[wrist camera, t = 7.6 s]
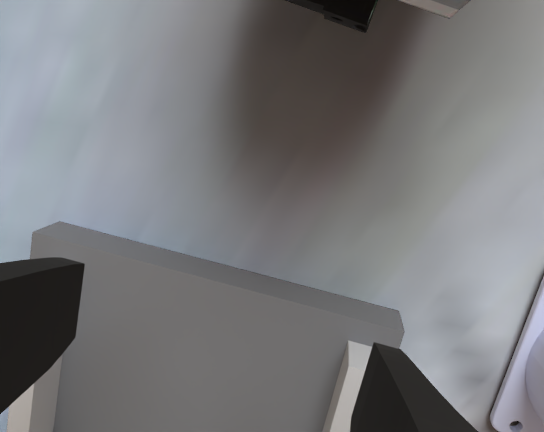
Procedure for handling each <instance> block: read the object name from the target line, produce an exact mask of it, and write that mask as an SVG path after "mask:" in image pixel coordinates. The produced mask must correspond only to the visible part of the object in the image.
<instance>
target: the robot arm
mask: <svg viewBox="0 0 544 432" xmlns="http://www.w3.org/2000/svg"><path fill="white" fill-rule="evenodd" d="M84 267H85V264H84V263H81V262H77V261H73V260H70V259H66V258H62V257H49V258H37V259H28V260H21V261H13V262H6V263H0V414H1V413H2V412H3V411H4V410H5V409H6V408H7V407H9V406H10V405H11V404H12V403H13V402H14V401H15V400H16V399H17V398H19V397H20V396H21V395H22V394H23V393H24V392H25V391H26V390H27V389H29V388H30V387H31V386H32V385H33V384H34V383H35V382H36V381H37V380H38V379H39V378H40V377H42V376H43V375H44V374H45V373H46V372H47V371H48V370H49V369H50V368H51V367H52V366H53V364H54V363H55V362H56V361H57V360H58V359H59V358H60V356H61V355H62V354H63V353H64V351H65V350H66V349H67V348H68V346H69V345H70V344H71V343H72V341H73V340H74V339H75V337H76V329H77V322H78V314H79V306H80V298H81V291H82V283H83V275H84ZM490 421H491V424H492V426H493V427H494V428H495V430H497V431H499V432H544V277H543V279H542V282H541V284H540V287H539V290H538V292H537V295H536V297H535V300H534V303H533V305H532V308H531V310H530V313H529V315H528V318H527V321H526V323H525V326H524V328H523V331H522V334H521V336H520V339H519V341H518V344H517V347H516V349H515V352H514V354H513V357H512V360H511V362H510V365H509V367H508V370H507V373H506V375H505V378H504V380H503V383H502V386H501V388H500V391H499V393H498V396H497V399H496V401H495V404H494V406H493V409H492V412H491V414H490ZM513 421H519V423H518V424H517V425H515V426H511V425H510V424H511V422H513ZM350 432H478V431H477V430H476V429H475V428H474V427H473V426H472V425H471V424H470V423H468V422H467V421H466V420H465V419H464V418H463V417H462V416H461V415H460V414H459V413H458V412H457V411H456V410H455V409H454V408H453V407H452V405H451V404H450V403H449V402H448V401H447V400H446V399H445V398H444V397H443V396H442V395H441V394H440V393H439V392H438V390H437V389H436V388H435V387H434V386H433V385H432V384H431V383H430V381H429V380H428V379H427V378H426V377H425V376H424V375H423V373H422V372H421V371H420V370H419V369H418V368H417V367H416V365H415V364H414V363H413V362H412V361H411V360H410V359H409V358H408V356H407V355H406V354H405V353H404V352H403V351H401V350H400V349H398V348H394V347H390V346H387V345H383V344H379V343H376V342H374V343H373V346H372V349H371V353H370V356H369V359H368V363H367V366H366V369H365V373H364V376H363V379H362V383H361V386H360V389H359V392H358V396H357V399H356V402H355V406H354V409H353V412H352V416H351V425H350Z"/></svg>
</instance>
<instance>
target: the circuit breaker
mask: <svg viewBox="0 0 544 432" xmlns="http://www.w3.org/2000/svg"><path fill="white" fill-rule="evenodd" d="M286 1H289V2H291V3H294V4H297V5H300V6H302V7H305V8H308V9H311V10H313V11H316V12H319V13H322V14H324V18H325V19H328V20H331V21H333V22H336V23H339V24H342V25H344V26H347V27H350V28H353V29H356V30H358V31H361V32H364V33H366V32H367V29H368V26H369V23H370V21H371V18H372V15H373V13H374V10H375V7H376V4H377V2H378V0H286ZM398 1H401V2H404V3H406V4H409V5H412V6H415V7H418V8H420V9H423V10H426V11H429V12H432V13H434V14H437V15H440V16H443V17H446V18H448V19H450V18H451V17H452V16H453V15H454V14H455V13H457V12H458V11H459V10H460V9H461V8H462V7H463V6H465V5H466V4H467V3H468V2H469V1H470V0H398Z"/></svg>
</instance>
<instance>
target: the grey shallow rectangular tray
mask: <svg viewBox="0 0 544 432" xmlns="http://www.w3.org/2000/svg"><path fill="white" fill-rule="evenodd" d="M49 257H62V258H66V259H70V260H73V261H77V262H81V263H84V264H85V267H84V275H83V283H82V291H81V298H80V306H79V314H78V322H77V329H76V337H75V339H74V340H73V341H72V343H71V344H70V345H69V346H68V348H67V349H66V350H65V351H64V353H63V354H62V355H61V356H60V358H59V359H58V360H57V361H56V362H55V363H54V364H53V366H52V367H51V368H50V369H49V370H48V371H47V372H46V373H45V374H44V375H43V376H42V377H40V378H39V379H38V380H37V381H36V382H35V383H34V384H33V385H32V386H31V387H30V388H29V389H27V390H26V391H25V392H24V393H23V394H22V395H21V396H20V397H19V398H17V399H16V400H15V401H14V402H13V403H12V404H11V405H10V406H9V412H8V423H7V432H350V425H351V416H352V412H353V409H354V406H355V402H356V399H357V396H358V392H359V389H360V386H361V383H362V379H363V376H364V373H365V369H366V366H367V363H368V359H369V356H370V353H371V349H372V346H373V343H374V342H376V343H379V344H383V345H387V346H390V347H394V348H398V349H399V347H400V344H401V341H402V338H403V335H404V328H403V324H402V321H401V317H400V313H399V311H397V310H393V309H389V308H386V307H382V306H378V305H374V304H370V303H367V302H363V301H359V300H355V299H351V298H348V297H344V296H340V295H336V294H332V293H329V292H325V291H321V290H317V289H314V288H310V287H306V286H302V285H298V284H295V283H291V282H287V281H283V280H279V279H276V278H272V277H268V276H264V275H260V274H257V273H253V272H249V271H245V270H242V269H238V268H234V267H230V266H226V265H223V264H219V263H215V262H211V261H207V260H204V259H200V258H196V257H192V256H189V255H185V254H181V253H177V252H173V251H170V250H166V249H162V248H158V247H154V246H151V245H147V244H143V243H139V242H135V241H132V240H128V239H124V238H120V237H117V236H113V235H109V234H105V233H101V232H98V231H94V230H90V229H86V228H82V227H79V226H75V225H71V224H67V223H63V222H57V223H55V224H52V225H49V226H47V227H44V228H42V229H39V230H37V231H34V232H33V234H32V244H31V254H30V259H37V258H49Z"/></svg>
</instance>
